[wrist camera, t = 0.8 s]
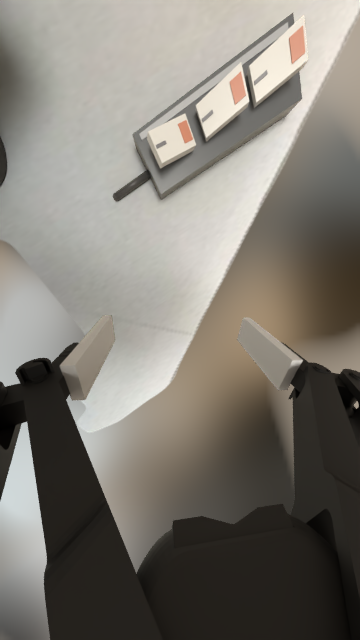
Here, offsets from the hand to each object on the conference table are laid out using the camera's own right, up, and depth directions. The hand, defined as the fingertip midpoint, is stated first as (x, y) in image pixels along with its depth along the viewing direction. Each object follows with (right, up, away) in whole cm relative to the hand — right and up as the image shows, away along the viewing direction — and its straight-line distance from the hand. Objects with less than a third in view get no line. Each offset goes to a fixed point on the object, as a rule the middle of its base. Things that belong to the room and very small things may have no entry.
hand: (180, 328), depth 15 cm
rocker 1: (-1, +30, +10) cm, 32 cm away
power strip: (+2, +35, +14) cm, 38 cm away
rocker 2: (+7, +34, +8) cm, 36 cm away
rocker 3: (+14, +39, +7) cm, 42 cm away
